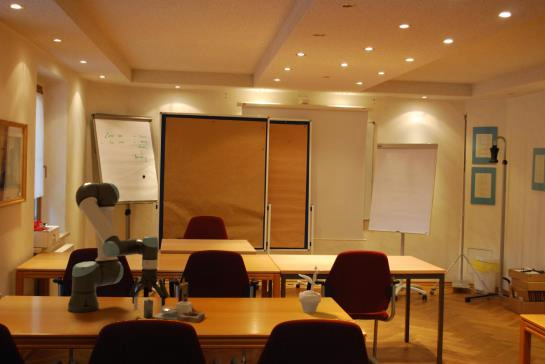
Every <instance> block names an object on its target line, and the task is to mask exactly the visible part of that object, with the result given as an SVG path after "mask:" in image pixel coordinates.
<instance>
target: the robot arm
mask: <svg viewBox="0 0 545 364" xmlns="http://www.w3.org/2000/svg"><path fill="white" fill-rule="evenodd" d="M119 200H120V190H119V189H118V187H117V186H116V185H115V184H114V183H111V182H86V183H83V184H82V185H80V186H79V187H78V188H77V190H76V192H75V203H76V206H77V207H78V209H79V210H80V211H82V212H83V213H84V215H85V216H86V219H88V221H89V223H90V224H91V225H92V227H93V229H94V230H95V232H96V241H97V243H96V244H97V257H96V258H95V261H82V262H79V263H76V264H74V265H73V267H72V273H71V277H72V279H71V280H72V282H71V284H72V285H71V295H70V298H69V301H68V303H67V310H68V311H70V312H73V313H89V312H94V311H97V310H99V309H100V302H99V300H98V297H97V287H102V286H108V285H114V284H117V283H119V282H120V281H121V279H122V278H123V275H124V266H123V265H122V263H121V262H120V261H119V258H118V257H122V256H123V257H124V256H133V255H141V277H140V276H136V277H135V280H134V283H133V285H132V287H131V289H130V291H129V293H128V296H130V297H131V303H132V304H133V312H136V311H138V309H139V307H138V306H139V304H138V303H139V302H138V301H139V296H137V295H138V294H140V292H141V291H142V290H143V289H144V288H152V289H154V290H155V293H157V295H158V296H159V298H160V299H159V313H162V312H163V307H165V306H166V299H168V298H170V295H169V293H168V290H167V287H166V285H165V282H164V277H163V278H162V277H161V278H158V264H159V263H158V259H159V258H158V257H159V237H158V236H154V235H151V236H150V235H147V236H143V237H142V239H140V238H129V239H122V240H121V239H120V237H119V236H118V235H117V234H116V232H115V230H114V229H115V228H114V215H113V214H114V213H113V211H114V209H116V204H118V203H119ZM140 282H141V284H140V285H139V283H140ZM158 284H159V285H158ZM138 286H139V287H138ZM159 286H160V287H159ZM137 287H138V288H137Z"/></svg>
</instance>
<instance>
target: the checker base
mask: <svg viewBox="0 0 545 364" xmlns="http://www.w3.org/2000/svg"><path fill="white" fill-rule="evenodd" d="M178 316H179V315H176V314H162V313H160V312H159V313H157V314H155V315H153V317H152V319H153V318H154V319H160V320H169V321H170V320H171V321H178Z"/></svg>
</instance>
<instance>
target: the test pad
mask: <svg viewBox="0 0 545 364" xmlns="http://www.w3.org/2000/svg"><path fill="white" fill-rule="evenodd" d="M178 312H179V309H176V306H163V312H162V314H176V313H178Z"/></svg>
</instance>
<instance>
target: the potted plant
mask: <svg viewBox="0 0 545 364" xmlns="http://www.w3.org/2000/svg"><path fill="white" fill-rule="evenodd" d="M313 269H314V271H315V272H313V275H312V278H311V277H310V276H308V275H305V274H300V273H298V276H299V277H301V278H303V279H304V280H306V281H307V282H308V283H310V285H311V286H310V290H309V289H308V290H304V291H301V292H299V295H298V298H299V299H298V300H299V302H300V304H301V308H302V312H304V313H305V314H315V313H316V312H317V308H318V306H319V304H320V303H321V302H322V294H321V293H320V292H317V291H314V285H315V284H314V283H315V282H317V274H319V272H320V270H318V269H319V268H318V267H317V266H315V267H313Z"/></svg>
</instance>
